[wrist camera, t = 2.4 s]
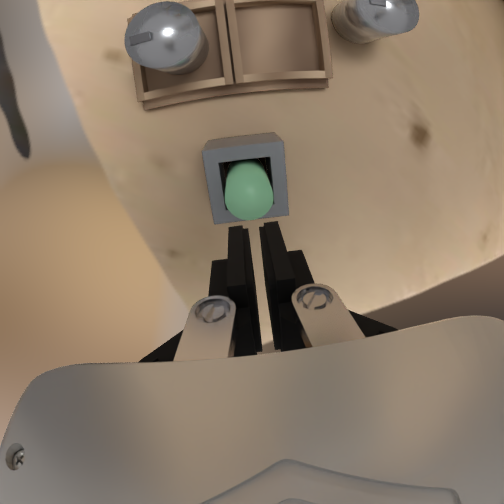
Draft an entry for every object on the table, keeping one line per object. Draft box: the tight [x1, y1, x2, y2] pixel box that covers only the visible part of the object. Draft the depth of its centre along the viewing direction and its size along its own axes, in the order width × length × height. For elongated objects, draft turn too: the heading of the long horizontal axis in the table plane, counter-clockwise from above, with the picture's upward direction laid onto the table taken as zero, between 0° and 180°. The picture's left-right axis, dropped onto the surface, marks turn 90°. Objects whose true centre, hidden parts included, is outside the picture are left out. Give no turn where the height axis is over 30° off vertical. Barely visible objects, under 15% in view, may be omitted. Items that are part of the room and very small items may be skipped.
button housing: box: [202, 132, 289, 224], centre depth 23 cm, size 6×6×5 cm
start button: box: [225, 158, 274, 220], centre depth 21 cm, size 3×3×6 cm
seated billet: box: [125, 1, 209, 75], centre depth 16 cm, size 4×4×7 cm
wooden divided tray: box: [127, 0, 333, 110], centre depth 19 cm, size 15×9×2 cm, turn 96°
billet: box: [332, 0, 419, 44], centre depth 16 cm, size 4×4×7 cm
